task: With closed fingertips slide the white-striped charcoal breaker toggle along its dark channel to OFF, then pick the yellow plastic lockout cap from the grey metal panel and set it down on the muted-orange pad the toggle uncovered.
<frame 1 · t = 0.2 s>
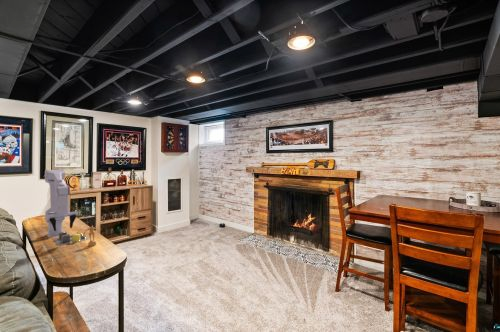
hand: (63, 229, 143), 10 cm above the table, fingers open, 7 cm apart
figurine: (92, 247, 142), on the table
panel: (70, 241, 150), on the table
breaker A: (62, 235, 151), point 3 cm above the table, slide at 0.0 cm
breaker B: (65, 238, 146), point 3 cm above the table, slide at 0.0 cm
lockout cap: (76, 241, 147), point 1 cm above the table, touching panel
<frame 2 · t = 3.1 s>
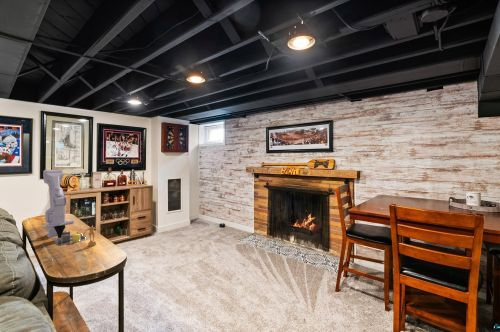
hand: (59, 237, 150), 2 cm above the table, fingers closed
breaker A: (65, 234, 152), point 3 cm above the table, slide at 1.7 cm, touching gripper
everything else where it was.
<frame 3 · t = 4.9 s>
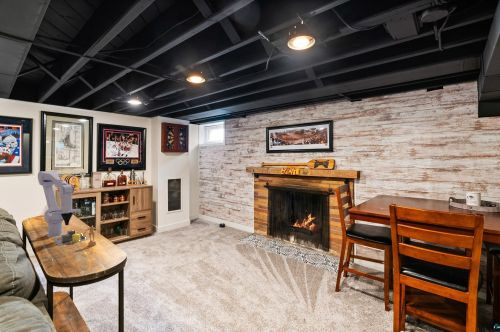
hand: (66, 225, 152), 9 cm above the table, fingers closed
breaker A: (71, 233, 154), point 3 cm above the table, slide at 4.5 cm
everything else where it was.
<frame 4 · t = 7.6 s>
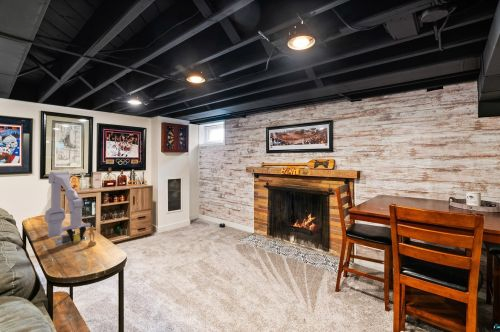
hand: (76, 240, 147), 2 cm above the table, fingers closed on lockout cap, 4 cm apart
lockout cap: (76, 241, 147), point 1 cm above the table, touching gripper, panel
everything else where it was.
when the fingers open (3 cm above the table, at t = 10.9 s): lockout cap drops 1 cm, resting on panel.
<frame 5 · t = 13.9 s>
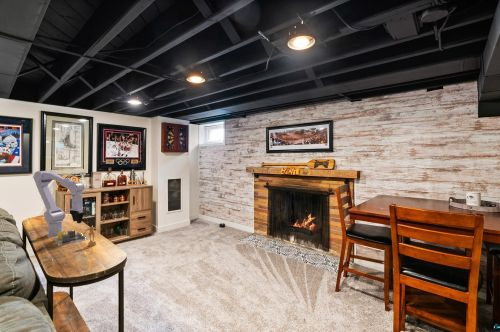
hand: (77, 222, 157), 10 cm above the table, fingers open, 7 cm apart
lockout cap: (61, 238, 151), point 1 cm above the table, touching panel
everything else where it was.
at the end: breaker A slide at 4.5 cm; lockout cap 0.1 cm from the target spot, point 1.3 cm above the table; lockout cap tilted 0° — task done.
